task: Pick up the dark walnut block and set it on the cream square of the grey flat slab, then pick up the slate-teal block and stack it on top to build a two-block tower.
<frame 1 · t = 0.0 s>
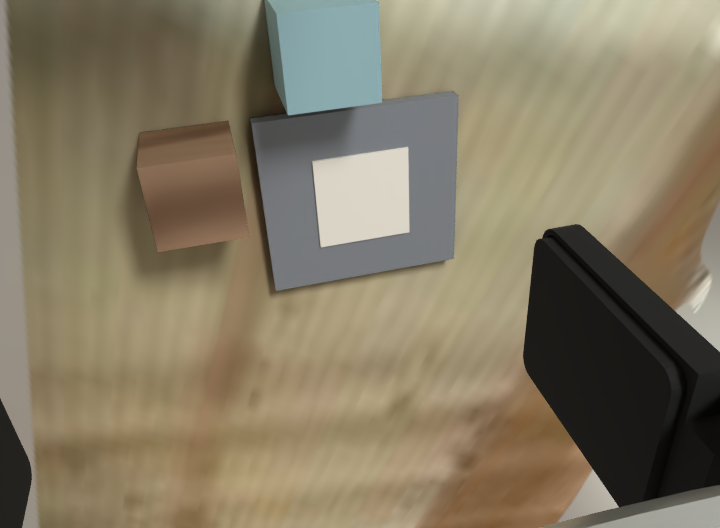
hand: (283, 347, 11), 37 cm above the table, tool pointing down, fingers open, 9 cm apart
walnut block: (192, 166, 48), on the table
grey flat slab: (359, 192, 52), on the table
teal block: (313, 36, 45), on the table
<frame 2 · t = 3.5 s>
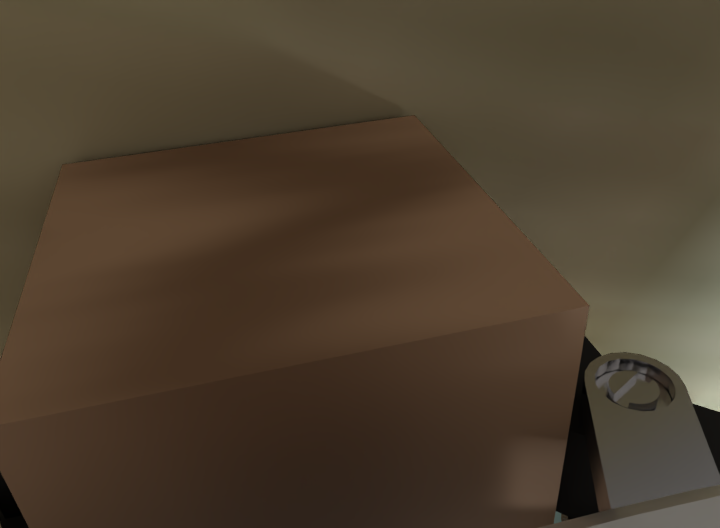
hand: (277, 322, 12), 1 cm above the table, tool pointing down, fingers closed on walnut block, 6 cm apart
walnut block: (268, 283, 13), on the table, touching gripper
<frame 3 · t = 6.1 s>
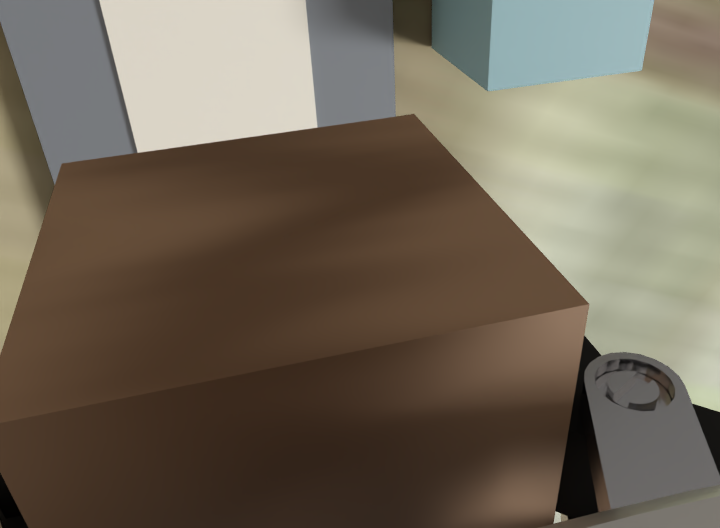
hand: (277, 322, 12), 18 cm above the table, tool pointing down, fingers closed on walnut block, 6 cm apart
walnut block: (268, 282, 13), point 16 cm above the table, touching gripper
grey flat slab: (216, 63, 26), on the table
when the fingers open (4 cm above the table, at t = 9.1 s): walnut block drops 1 cm, resting on grey flat slab.
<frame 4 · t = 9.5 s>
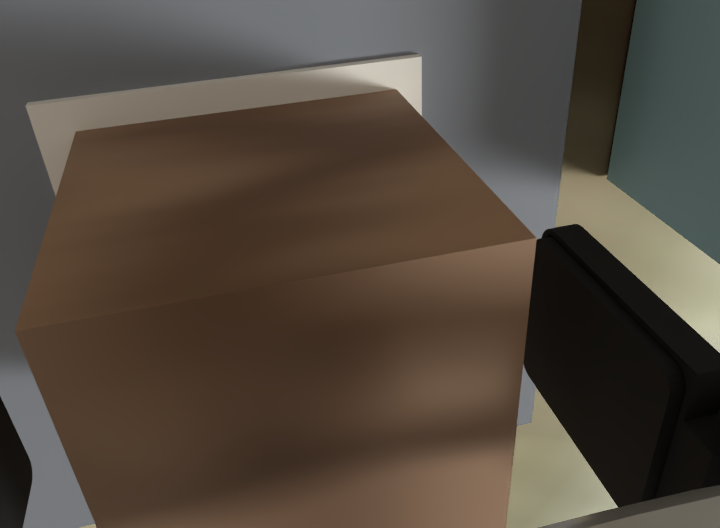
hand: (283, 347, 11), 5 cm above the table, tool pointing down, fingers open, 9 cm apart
walnut block: (263, 246, 14), point 1 cm above the table, touching grey flat slab
grey flat slab: (253, 221, 15), on the table
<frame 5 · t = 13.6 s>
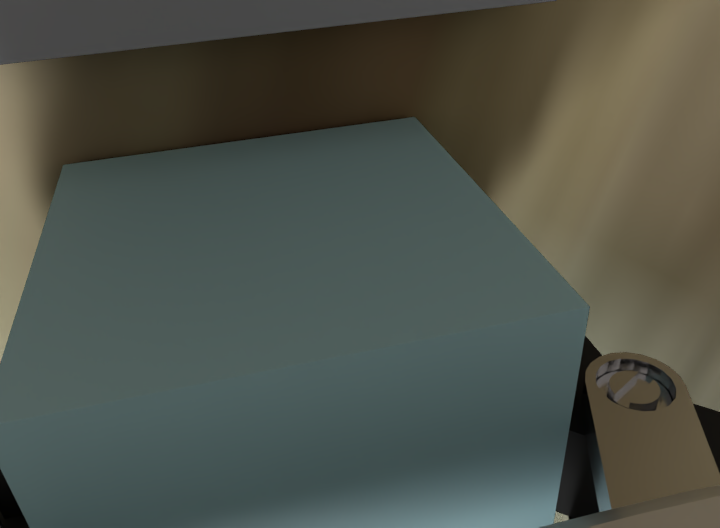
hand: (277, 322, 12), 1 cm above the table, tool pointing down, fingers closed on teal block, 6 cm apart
teal block: (268, 284, 13), on the table, touching gripper
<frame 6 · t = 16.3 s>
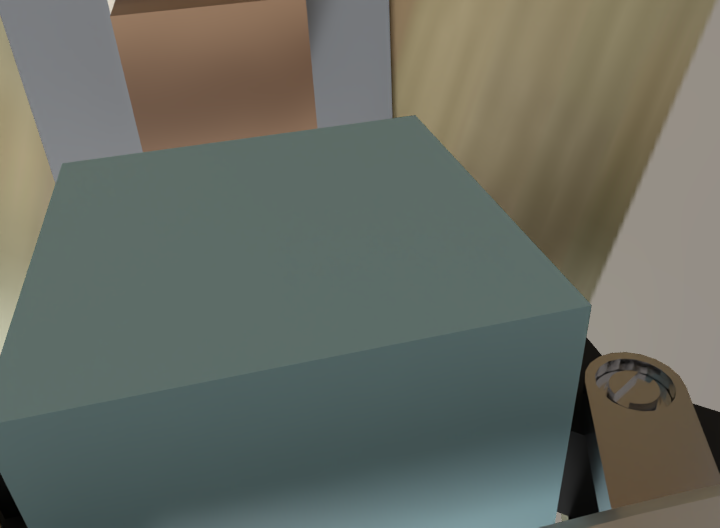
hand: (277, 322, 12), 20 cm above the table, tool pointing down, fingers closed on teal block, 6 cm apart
walnut block: (214, 54, 27), point 1 cm above the table, touching grey flat slab
grey flat slab: (212, 45, 28), on the table
teal block: (268, 283, 13), point 19 cm above the table, touching gripper
when the fingers open (10 cm above the table, at t = 19.1 s): teal block drops 1 cm, resting on walnut block.
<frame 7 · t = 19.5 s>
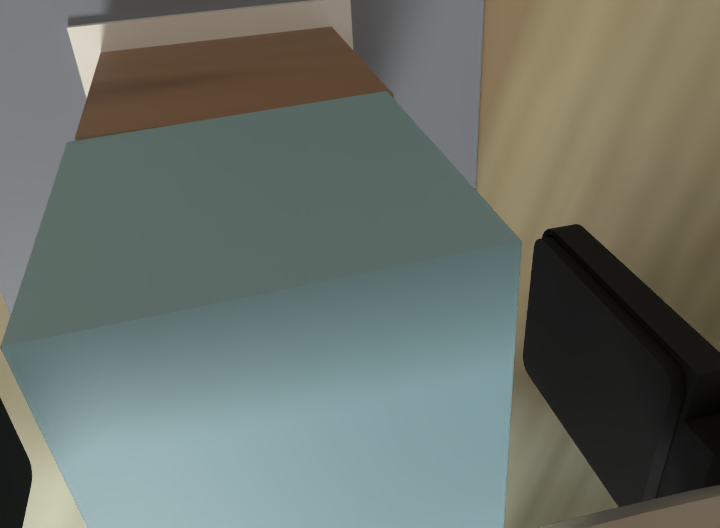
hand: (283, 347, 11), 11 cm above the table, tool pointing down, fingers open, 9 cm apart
walnut block: (236, 146, 19), point 1 cm above the table, touching grey flat slab, teal block
grey flat slab: (231, 129, 20), on the table
teal block: (258, 250, 14), point 7 cm above the table, touching walnut block
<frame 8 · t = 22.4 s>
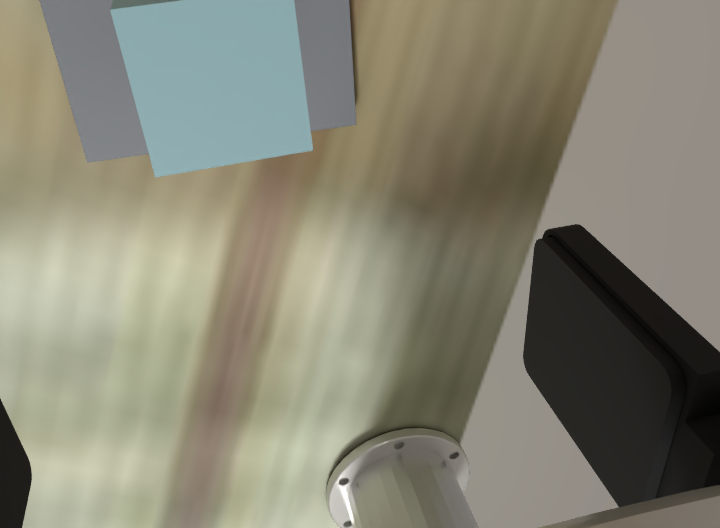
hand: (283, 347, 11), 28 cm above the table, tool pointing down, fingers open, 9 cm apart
grey flat slab: (203, 8, 35), on the table
teal block: (210, 44, 29), point 7 cm above the table, touching walnut block
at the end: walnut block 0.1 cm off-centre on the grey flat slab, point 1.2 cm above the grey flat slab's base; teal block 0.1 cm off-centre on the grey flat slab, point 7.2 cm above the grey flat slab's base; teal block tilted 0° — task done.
